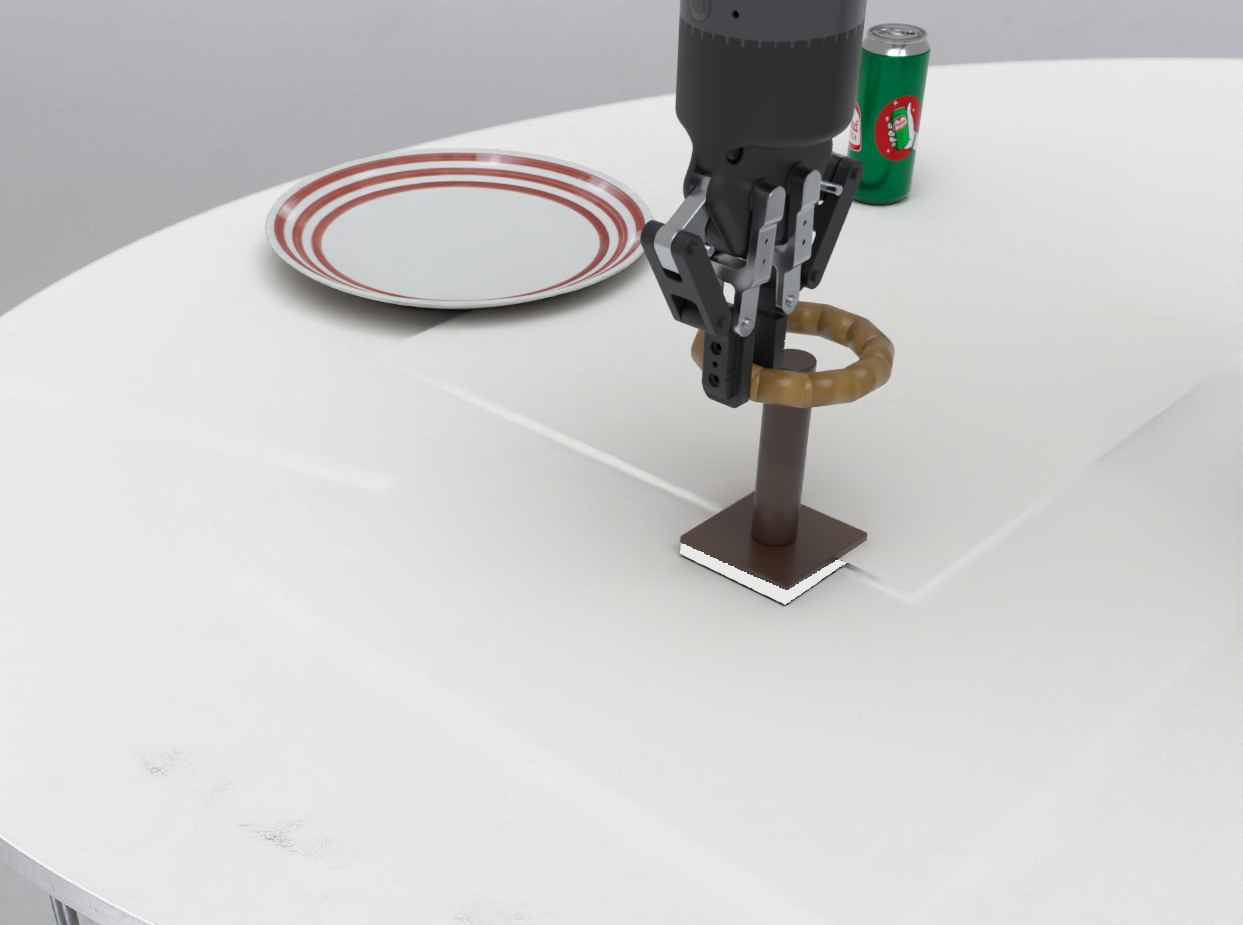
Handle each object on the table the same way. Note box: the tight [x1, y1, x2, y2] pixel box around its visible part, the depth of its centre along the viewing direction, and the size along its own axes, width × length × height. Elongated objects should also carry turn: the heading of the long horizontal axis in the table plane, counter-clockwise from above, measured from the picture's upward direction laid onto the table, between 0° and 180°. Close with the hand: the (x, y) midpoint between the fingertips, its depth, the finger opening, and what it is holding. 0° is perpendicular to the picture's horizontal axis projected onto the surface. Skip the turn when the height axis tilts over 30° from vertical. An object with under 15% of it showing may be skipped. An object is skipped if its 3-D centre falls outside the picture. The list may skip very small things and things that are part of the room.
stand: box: [679, 348, 868, 590], centre depth 82 cm, size 7×7×11 cm
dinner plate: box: [264, 147, 654, 310], centre depth 116 cm, size 28×27×3 cm
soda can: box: [846, 22, 932, 205], centre depth 121 cm, size 5×5×12 cm
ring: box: [690, 300, 896, 409], centre depth 79 cm, size 10×10×2 cm
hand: (741, 390), depth 77 cm, fingers closed on ring, 1 cm apart
